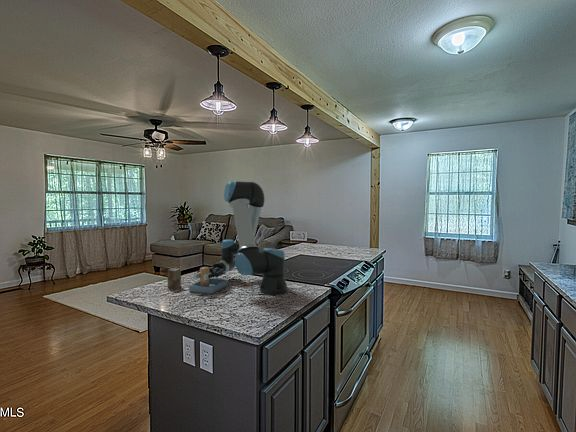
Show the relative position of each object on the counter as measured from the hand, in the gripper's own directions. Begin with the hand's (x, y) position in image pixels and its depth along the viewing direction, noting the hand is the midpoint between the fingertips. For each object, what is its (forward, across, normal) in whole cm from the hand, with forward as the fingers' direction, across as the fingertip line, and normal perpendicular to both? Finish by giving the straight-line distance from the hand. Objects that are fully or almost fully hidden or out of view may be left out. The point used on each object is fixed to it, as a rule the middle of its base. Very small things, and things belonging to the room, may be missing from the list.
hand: (199, 277), depth 166 cm
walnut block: (-7, +20, -9) cm, 23 cm away
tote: (-10, 0, -9) cm, 13 cm away
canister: (-5, 0, -6) cm, 8 cm away
